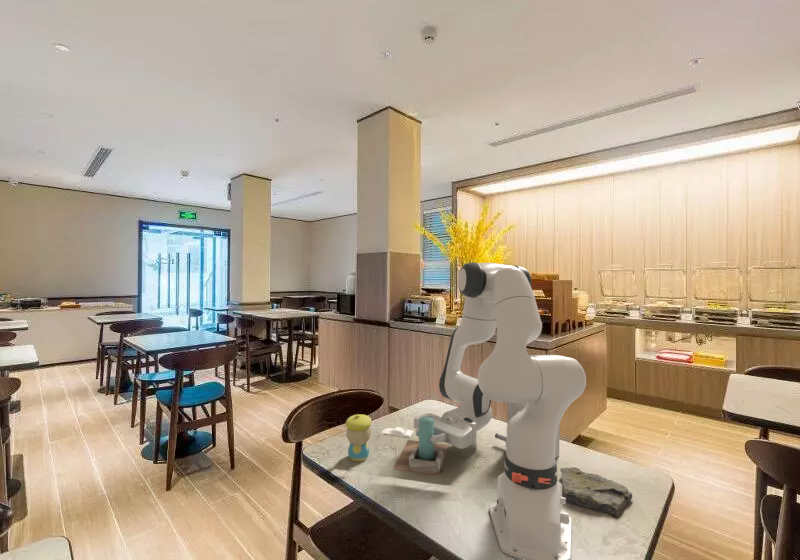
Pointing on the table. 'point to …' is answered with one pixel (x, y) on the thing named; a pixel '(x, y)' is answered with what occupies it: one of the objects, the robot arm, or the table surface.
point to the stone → (594, 491)
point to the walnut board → (414, 464)
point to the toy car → (398, 432)
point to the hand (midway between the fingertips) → (424, 436)
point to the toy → (358, 436)
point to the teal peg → (426, 438)
